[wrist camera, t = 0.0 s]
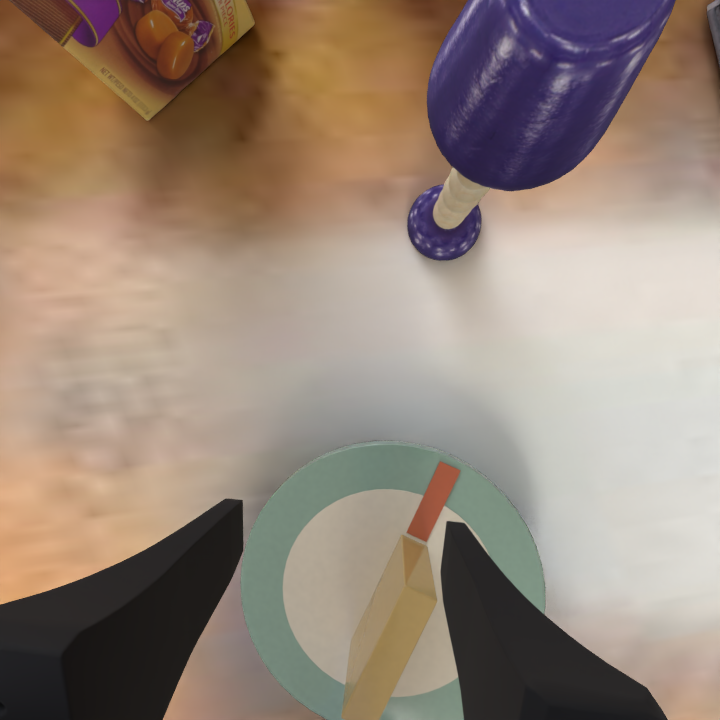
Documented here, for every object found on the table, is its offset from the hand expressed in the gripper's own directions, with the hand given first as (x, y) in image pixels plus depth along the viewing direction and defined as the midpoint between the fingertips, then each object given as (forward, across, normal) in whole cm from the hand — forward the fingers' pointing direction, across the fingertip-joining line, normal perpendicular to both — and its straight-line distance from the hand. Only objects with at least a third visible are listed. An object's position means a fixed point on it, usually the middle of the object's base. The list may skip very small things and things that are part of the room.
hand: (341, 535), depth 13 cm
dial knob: (+7, -2, +9) cm, 12 cm away
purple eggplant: (+13, -4, -11) cm, 18 cm away
